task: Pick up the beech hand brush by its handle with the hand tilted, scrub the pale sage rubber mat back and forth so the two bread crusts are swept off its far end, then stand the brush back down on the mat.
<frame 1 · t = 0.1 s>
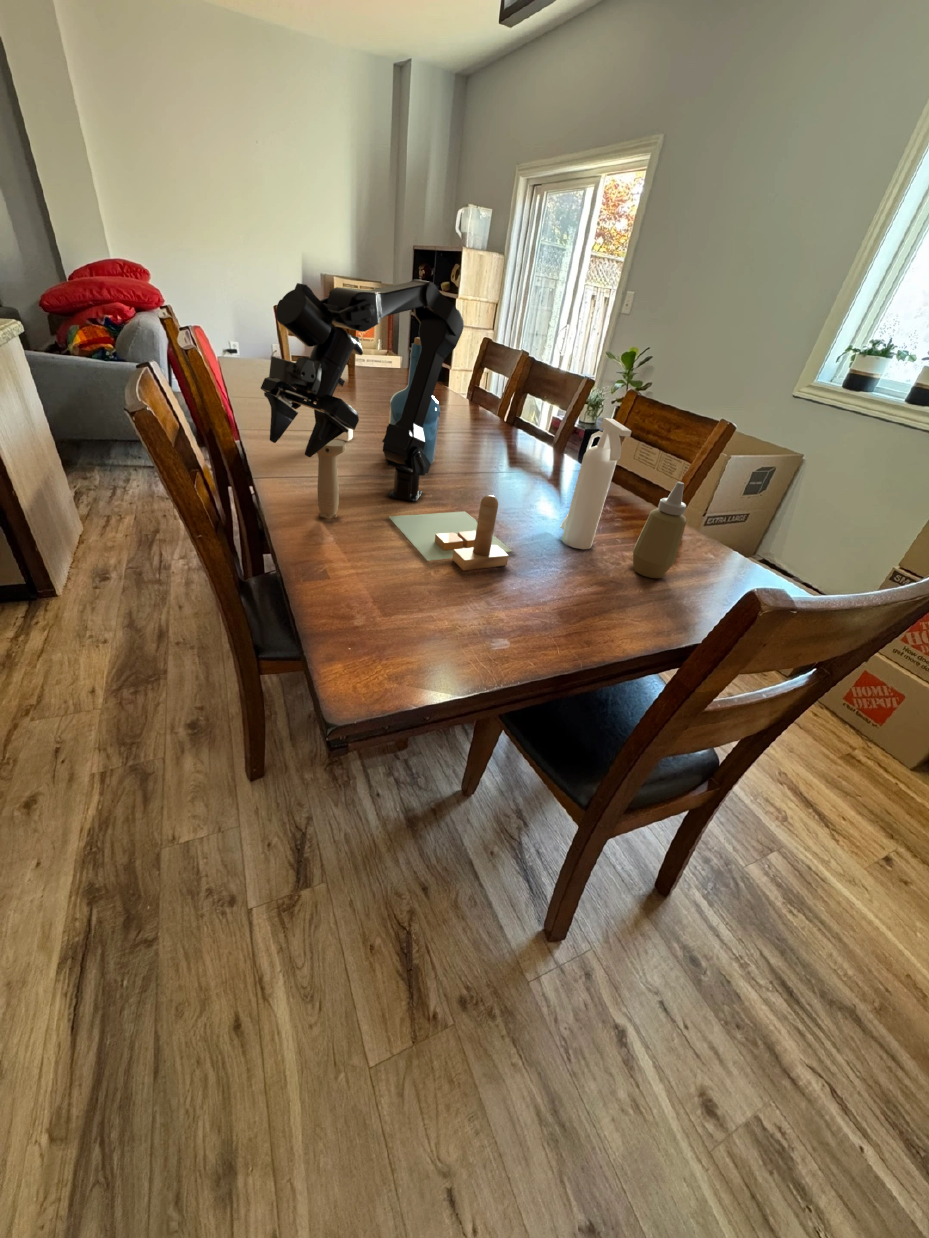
hand: (289, 448, 87), 15 cm above the table, tool tilted 35°, fingers open, 9 cm apart
crust b: (470, 543, 99), point 1 cm above the table, touching mat
wine bottle: (410, 460, 142), on the table
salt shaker: (344, 440, 150), on the table
crust a: (448, 545, 97), point 1 cm above the table, touching mat
squeeze bottle: (647, 572, 101), on the table
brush: (478, 567, 92), on the table
white spray bottle: (574, 542, 109), on the table
handle: (328, 519, 101), on the table
mat: (447, 537, 102), on the table
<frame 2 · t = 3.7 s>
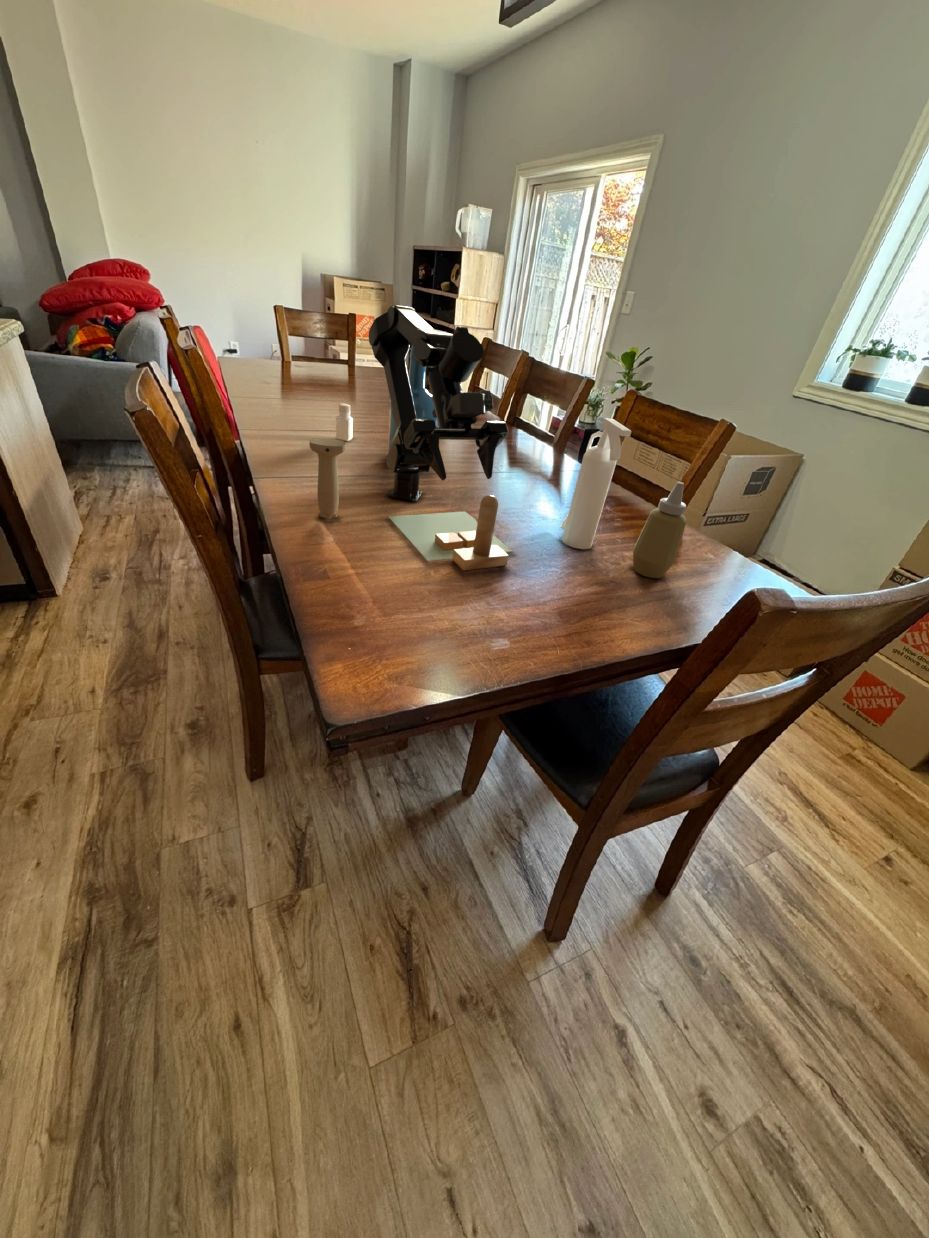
hand: (467, 478, 91), 14 cm above the table, tool tilted 45°, fingers open, 9 cm apart
nothing on the table moved.
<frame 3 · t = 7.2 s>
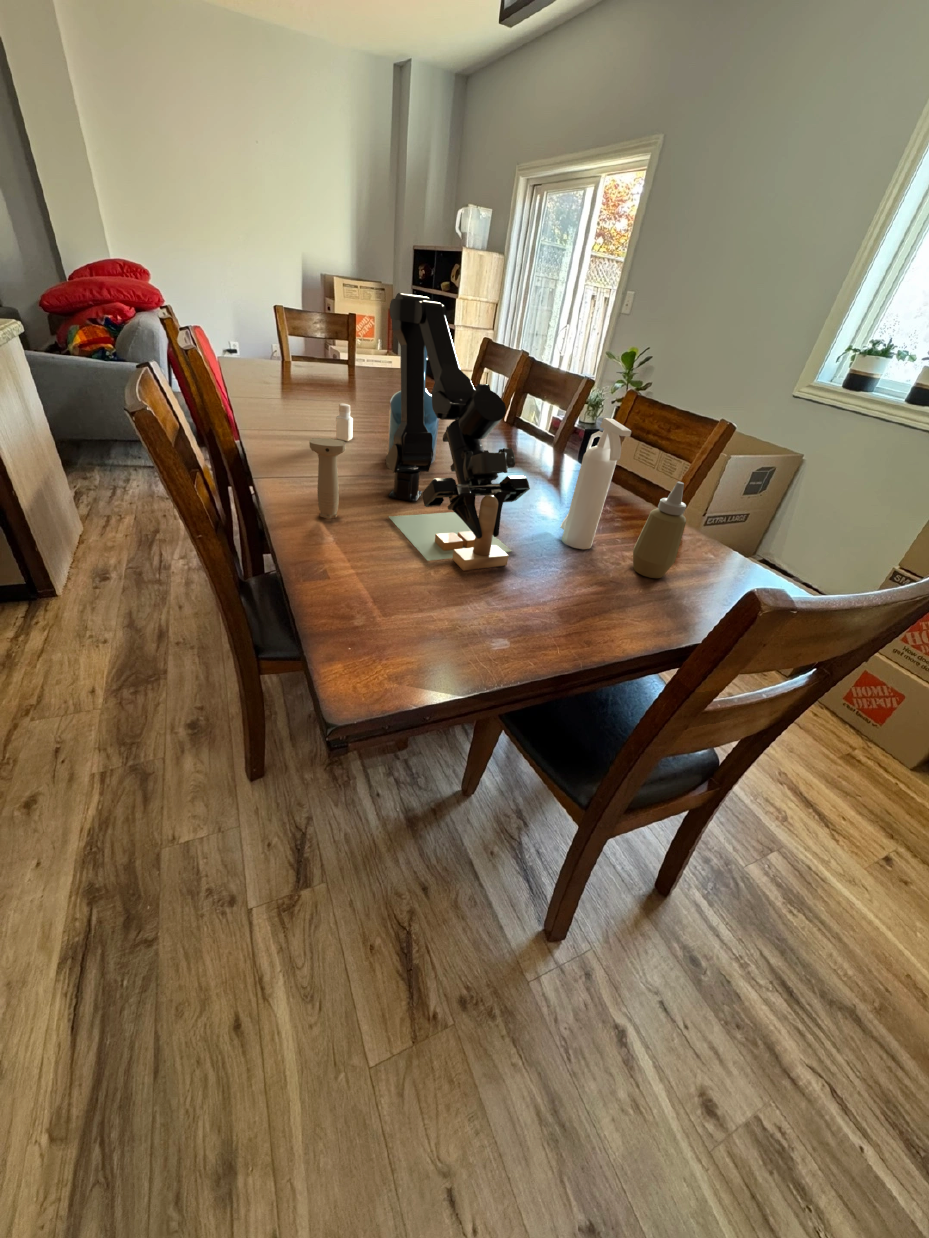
hand: (488, 537, 88), 7 cm above the table, tool tilted 45°, fingers closed on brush, 3 cm apart
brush: (478, 567, 92), on the table, touching gripper
everything else where it was.
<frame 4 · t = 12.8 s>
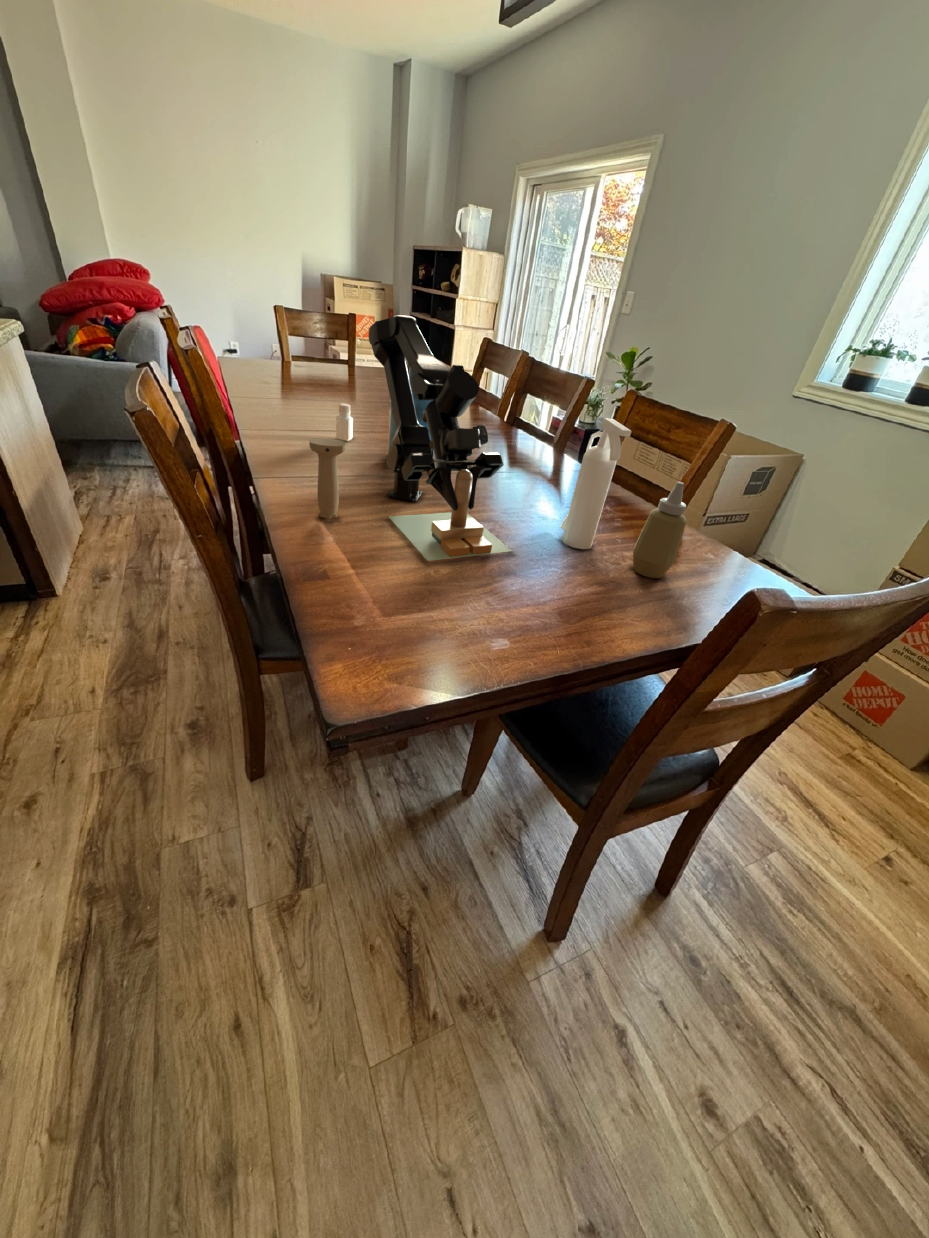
hand: (463, 509, 94), 8 cm above the table, tool tilted 45°, fingers closed on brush, 3 cm apart
crust b: (476, 548, 97), point 1 cm above the table
crust a: (454, 551, 95), point 1 cm above the table
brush: (456, 538, 99), point 1 cm above the table, touching gripper
everything else where it was.
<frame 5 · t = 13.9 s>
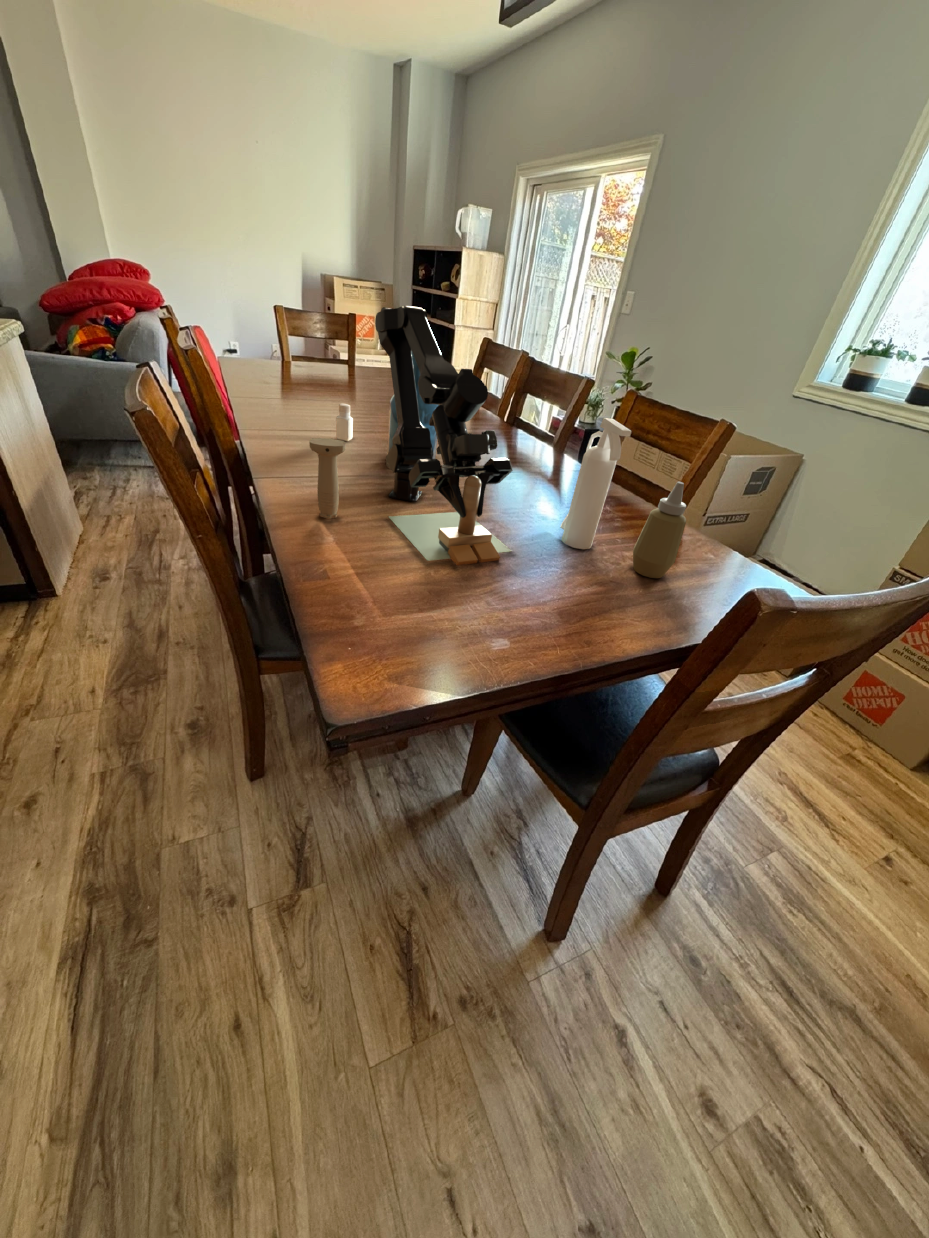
hand: (472, 516, 92), 8 cm above the table, tool tilted 45°, fingers closed on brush, 3 cm apart
crust b: (484, 556, 95), point 1 cm above the table, tilted 18°, touching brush
crust a: (461, 559, 93), point 1 cm above the table, tilted 18°
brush: (463, 546, 96), point 1 cm above the table, touching crust b, gripper
everything else where it was.
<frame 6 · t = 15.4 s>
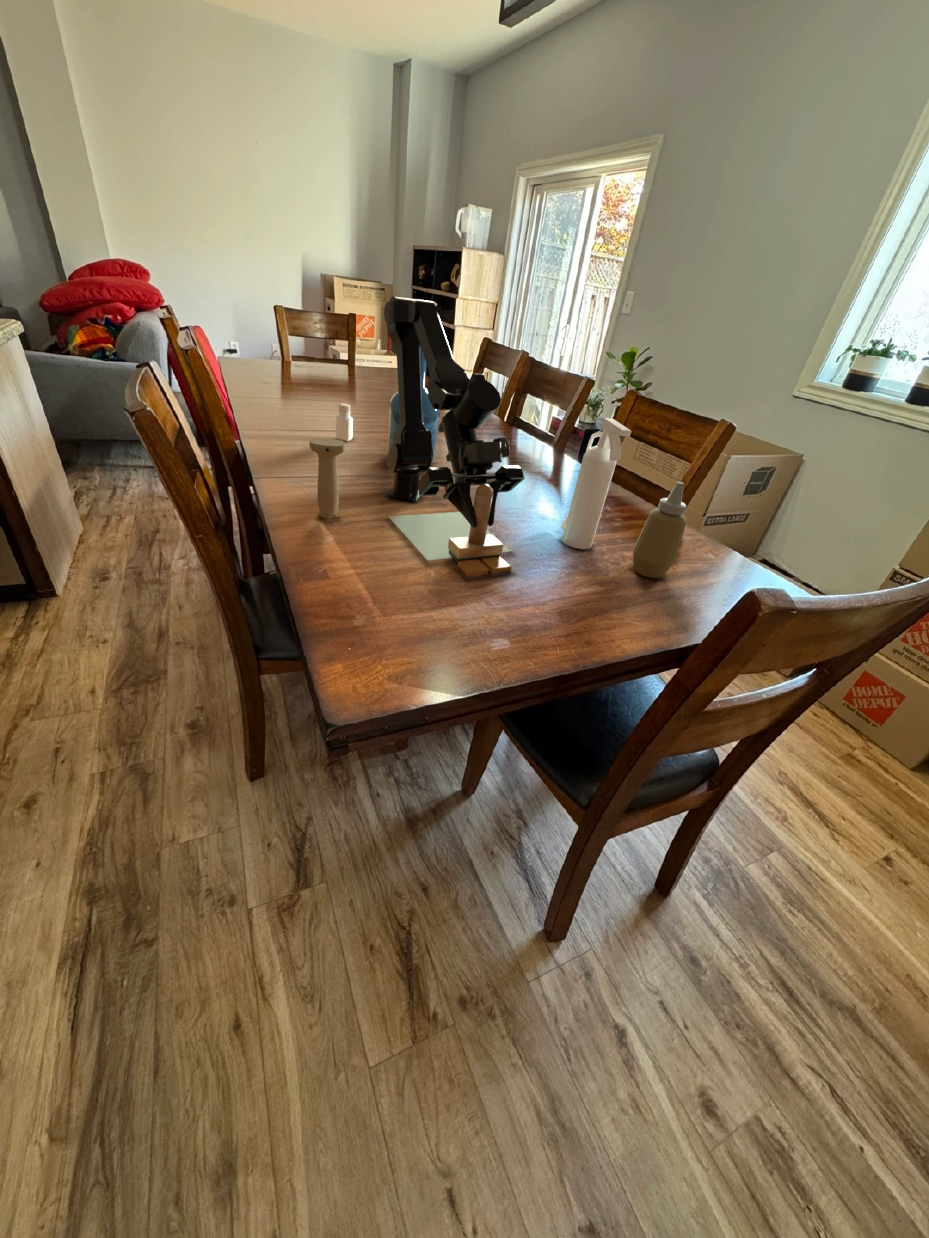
hand: (483, 526, 89), 8 cm above the table, tool tilted 45°, fingers closed on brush, 3 cm apart
crust b: (495, 570, 92), on the table
crust a: (471, 573, 90), on the table
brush: (474, 556, 93), point 1 cm above the table, touching gripper
everything else where it was.
when the fingers open (7 cm above the table, at t = 20.7 s): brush stays where it is, resting on mat.
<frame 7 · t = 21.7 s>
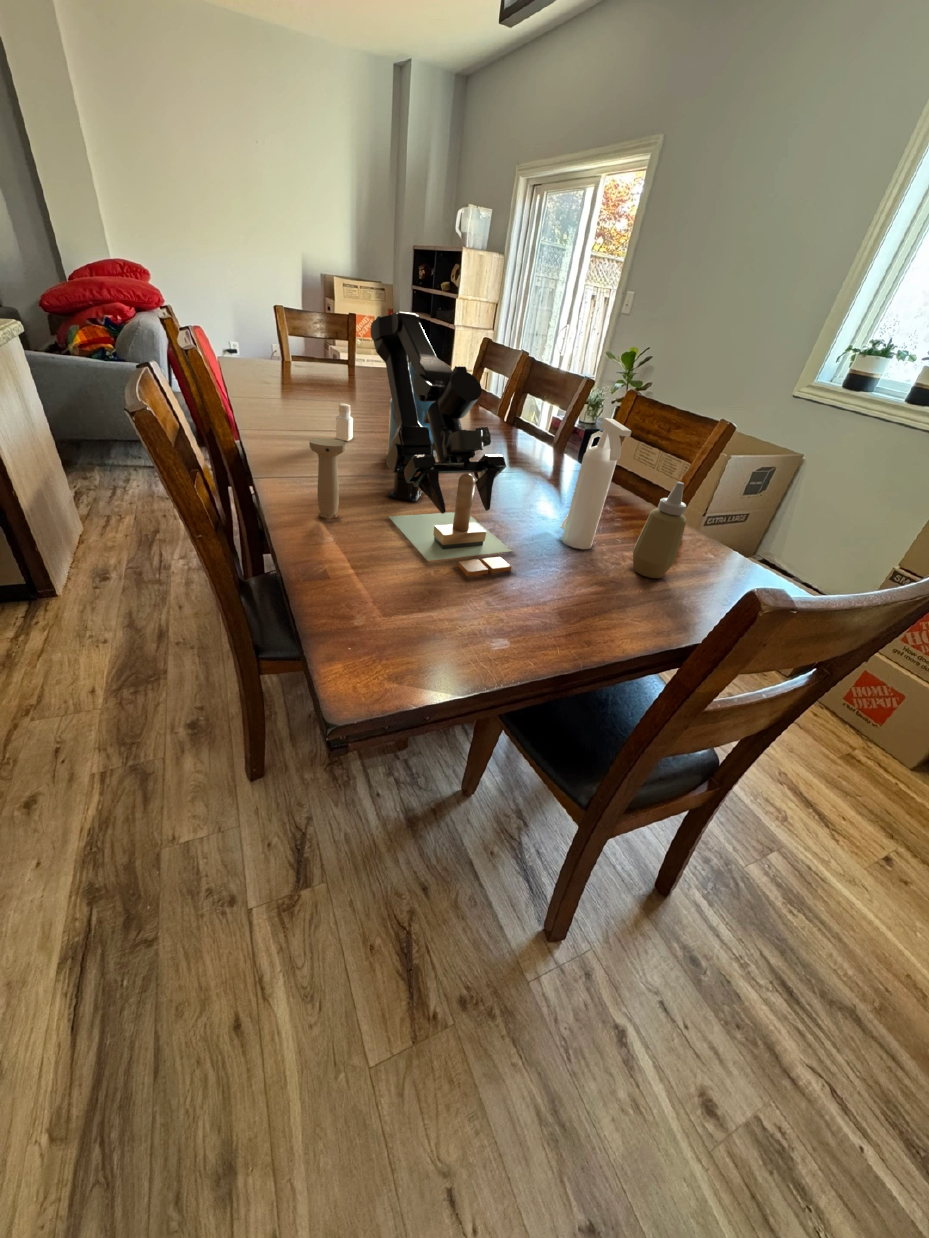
hand: (466, 511, 93), 8 cm above the table, tool tilted 45°, fingers open, 9 cm apart
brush: (458, 543, 98), point 1 cm above the table, touching mat
everything else where it was.
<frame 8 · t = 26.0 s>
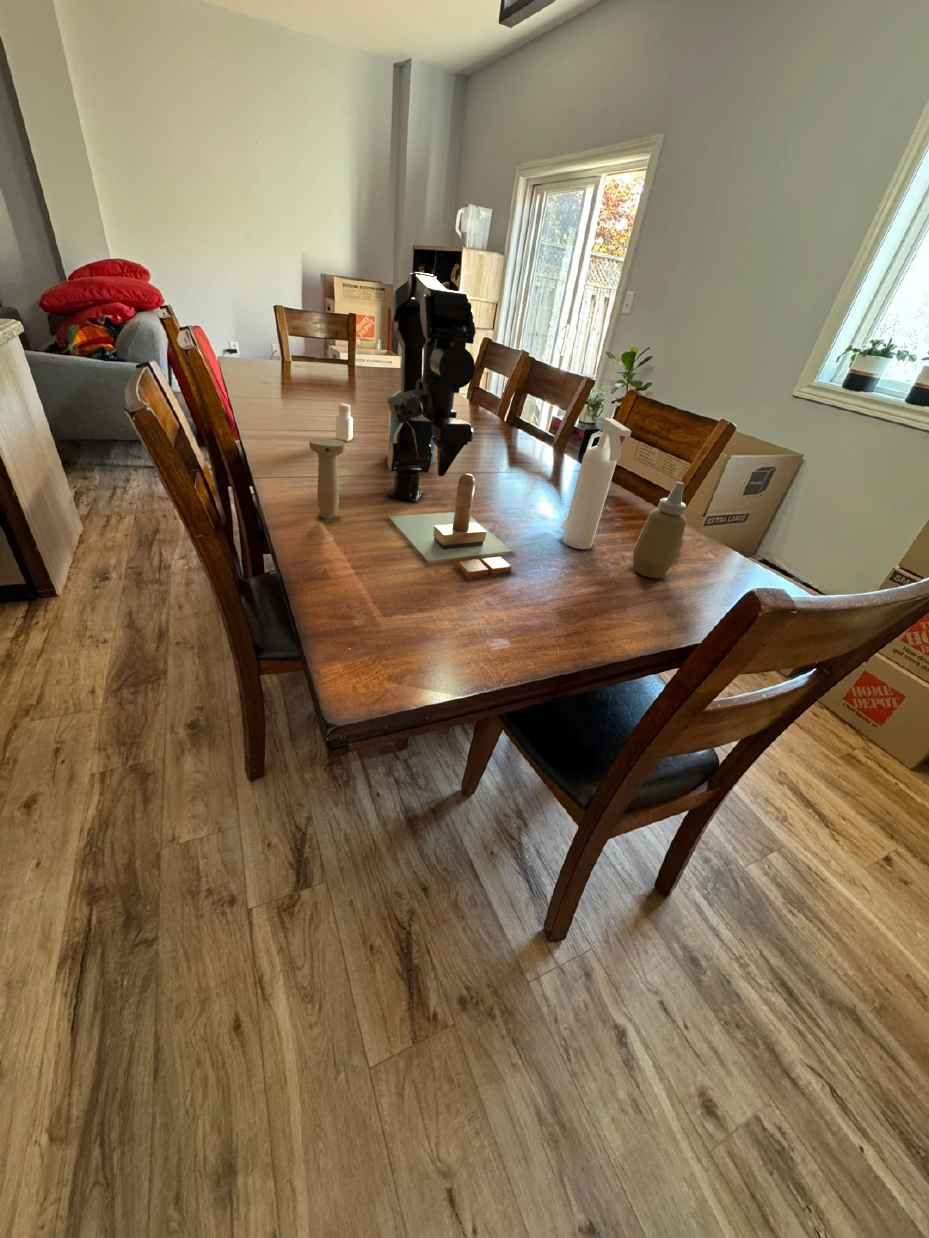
hand: (430, 467, 95), 13 cm above the table, tool pointing down, fingers open, 9 cm apart
nothing on the table moved.
at the end: crust a moved 9.8 cm from its start; crust b moved 9.8 cm from its start; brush inside the target area (0.1 cm from its centre), point 0.8 cm above the table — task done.
